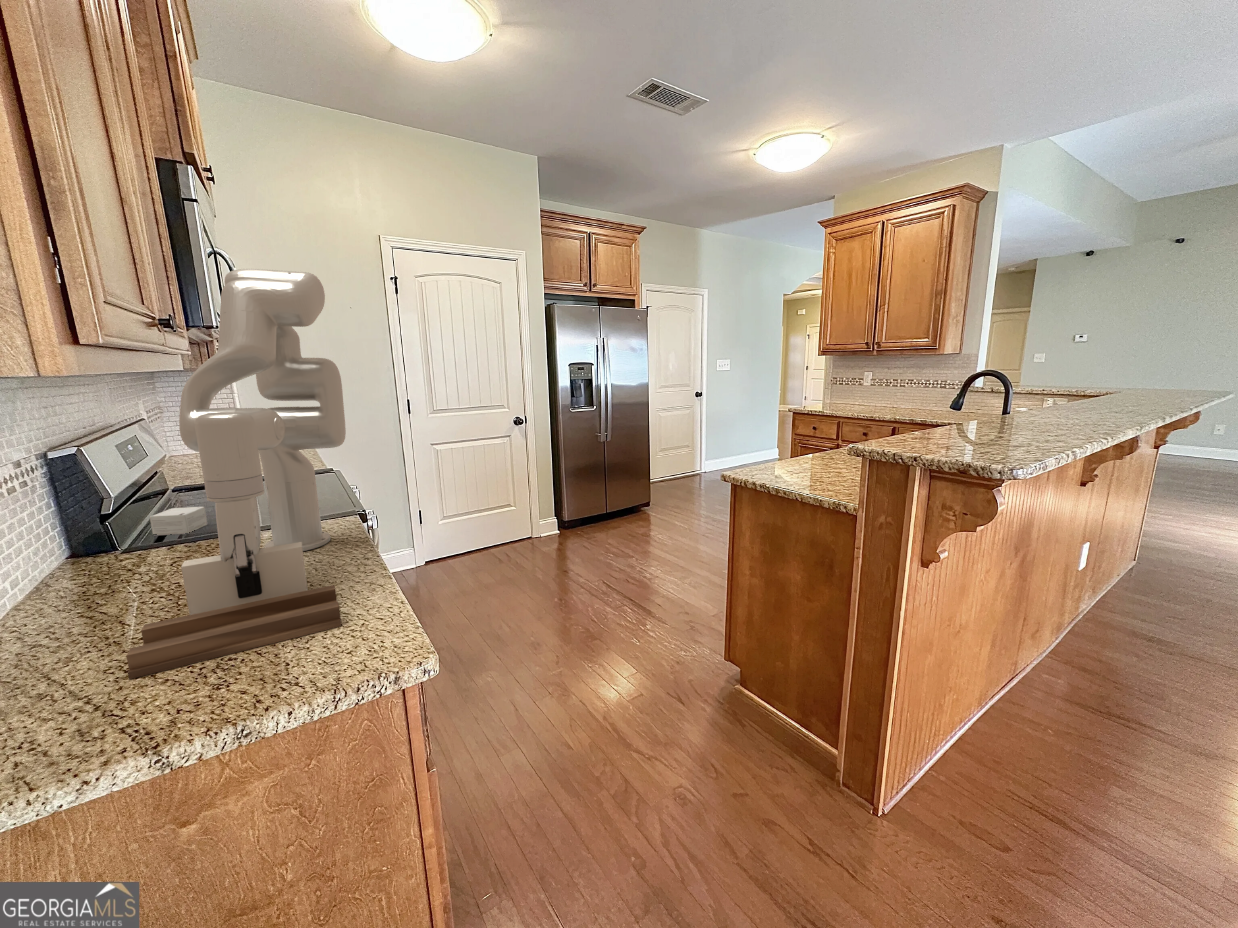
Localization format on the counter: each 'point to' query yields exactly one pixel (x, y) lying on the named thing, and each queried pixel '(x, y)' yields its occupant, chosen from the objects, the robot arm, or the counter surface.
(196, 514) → the small box
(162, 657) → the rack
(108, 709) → the counter surface
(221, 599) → the white rectangular slab
